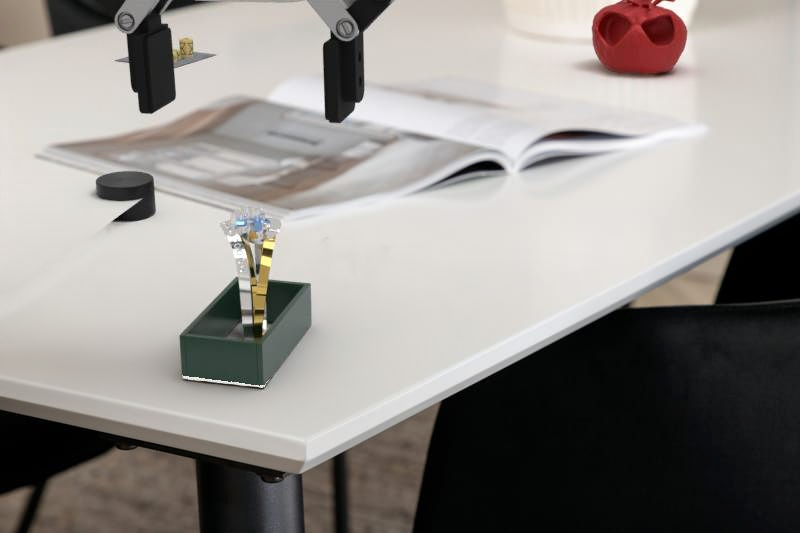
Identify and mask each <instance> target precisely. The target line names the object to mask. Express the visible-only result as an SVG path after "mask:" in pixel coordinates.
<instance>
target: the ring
mask: <svg viewBox="0 0 800 533" xmlns="http://www.w3.org/2000/svg"><path fill="white" fill-rule="evenodd" d="M229 216H230V219H228V220H226V221H223V222H220V223H219V227H220V228H221V230H222V232H223V233H224V236H225V237H226V238H227V240H228V242H229V244H230V247H231V249H232V253H233V257H234V260H235V265H236V272H237V277H238V279H239V289H240V300H241V312H242V319H241V321H242V322H241V323H242V331H243V338H244V339H243V340H252V341H259V340H260V339H261V337H262V336H263V335H264V334H265V332H266V331H267V330H268V323H269V322H268V294H267V289H268V281H269V280H270V271H271V265H272V259H273V253H274V248H275V243H276V238H277V234H278V233H279V232H280V231H281V228H282V221H281V220H280V219H279V218H277V217H266V211H265V210H264V209H263V207H255V206H247V207H246V206H243V207H240V208H235V209H234V211H233V212H231V213H230V214H229ZM250 243H251V244H253V245H254V246H253V247H254V248H253V249H254V255H253V250H252V247H251V244H250Z"/></svg>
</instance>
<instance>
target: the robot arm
mask: <svg viewBox="0 0 800 533" xmlns="http://www.w3.org/2000/svg"><path fill="white" fill-rule="evenodd" d="M172 1H173V0H96V2H97V3H98V4H99V5H100V6H102V8H103V9H104V10H105V11H106V12H107V13H108V14H109V15H110V16H111V17H112V18H113V19H114V25H115V27H116V29H117V30H118V31H119V32H121V33H122V34H126V45H127V57H129V62H128V66H129V68H128V69H129V79H130V87H131V90H132V92H133V93H135V94H137V100H138V101H137V102H138V111H139V113H140V114H142V115H143V114H144V115H152V114H154V113H156V112H158V111H159V110H161V109H162V108H164V107H166V106H167V105H169V104H171V103H172V102H174V101H176V97H177V91H176V90H177V89H176V77H175V76H176V74H175V68H174V61H173V49H174V48H173V38H172V37H173V35H172V29H171V28H170V27H169V23H162V16H163V13H164V12H165V11H166V9H167V8H168V6H169V5H170V4H171V2H172ZM197 1H198V2H199V1H201V2H204V1H205V2H230V3H231V2H232V3H233V2H237V3H279V4H280V3H281V4H282V3H284V4H285V3H287V4H288V3H298V2H303V1H305V0H196V2H197ZM306 2H307V3H308V4H309V6H310V7H311V8H312V9H313V10H314V11H315V13H316V14H317V15H318V16H319V18H320V19H321V20H322V21H323V23H324V24H325V25H326V26H327V27H328V29H329V33H330V34H329V35H330V36H329V37H330V38H329V39H327V40H326V41H325V42H323V44H322V67H323V68H322V69H323V98H324V100H323V101H324V118H325V120H326V121H328V123H330V124H342V122H343V121H345V120H346V119H347V118H348V117H349V116H350V115H351V114H352V113H353V112H354V111H355V109H356V104H360V103H361V102H362V101H363V100H364V97H365V47H364V46H365V45H364V44H365V43H364V39H365V38H364V32H365V31H367V30H368V29H369V28H370V27H371V25H372V24H373V23H374V22H375V21H376V20H378V18H379V17H380V16H381V15H382V14H384V12H385V11H386V10H387V9H388V8H389V6H391V5H392V4H393V2H395V0H306Z"/></svg>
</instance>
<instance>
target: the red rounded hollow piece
mask: <svg viewBox="0 0 800 533" xmlns="http://www.w3.org/2000/svg"><path fill="white" fill-rule="evenodd" d="M662 2H670V3H675V2H676V0H620V1H618V2H616V3H613V4H609V5H606V6H603V7H602V8H601V9H599V11H598V12H596V13H595V15H594V16H593V19H592V25H591V32H592V33H591V34H592V37H591V39H592V47H593V50H594V53H595V55H596V57H597V59H598V60H599V61H600V62H601V64H602V66H604V67H605V68H606V69H607V70H610V71H612V72H616V73H622V74H623V73H625V74H639V75H656V74H660V73H662V74H663V73H667V72H670V71H671V70H673V68H674V67H675V65H677V64H678V62H679V60H680V57H681V56H682V54H683V53H684V51H685V48H686V44H687V41H688V29H687V25H686V24H685V22H684V20H683V19H682V18H681V16H679V15H678V14H677V13H676V12H674V11H673V10H672V9H670V8H666V7H663V6H660V5H659V4H661V3H662Z"/></svg>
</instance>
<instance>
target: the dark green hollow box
mask: <svg viewBox="0 0 800 533" xmlns="http://www.w3.org/2000/svg"><path fill="white" fill-rule="evenodd" d="M267 294H268V323H271V325H270V326H269V328H267V331H266V332H265V334H264V335H263V336H262V337H261V339H260V340H259V341H252V340H245V339H241V338H232V337H227V336H228V335H229V334H230V333H231V331H232V330H233V329H234V328H235V327H236V326H237V325H238V324H239V322H240V321H242V312H241V300H240V289H239V279H238V276H235V277H234V278H233V280H231V281H230V283H228V284H227V286H226V287H224V289H223V290H222V291H220V293H219V294H218V295H217V296H216V297H215V298H214V299H213V300H212V301H211V302H210V303H209V304H208V305H207V306H206V307H205V308H204V309H203V310H202V311H201V312H200V313H199V314H198V315H197V317H196V318H194V320H192V321H191V323H190V324H189V325H188V326H187V327H186V328H185V329H184V330H183V331H182V332H181V333H180V334H179V336H178V337H179V351H180V353H179V354H180V367H181V368H180V369H181V376H182V375H183V376H189V377H199V378H205V379H212V380H221V381H228V382H231V381H232V382H239V383H245V384H251V385H259V386H260V385H265V384H266V382H267V381H268V380H269V379H270V378H271V377H272V375H273V376H275V374H276V373H277V371H278V370H279V369H280V367H281V366H282V365H283V363H284V362H285V360H286V359H287V358H288V357H289V355H290V354H291V353H292V351H293V349H294V348H295V347H297V345H298V343H299V342H300V341H301V339H302V338H303V337H304V335H305V334H306V332H307V331H308V330H309V329H310V327H311V326H312V323H313V322H312V320H313V319H312V283H310V282H301V281H290V280H279V279H269V281H268V289H267ZM278 368H279V369H278ZM275 372H276V373H275ZM274 373H275V374H274ZM272 378H273V377H272ZM272 378H271V379H272ZM271 379H270V380H271Z"/></svg>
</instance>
